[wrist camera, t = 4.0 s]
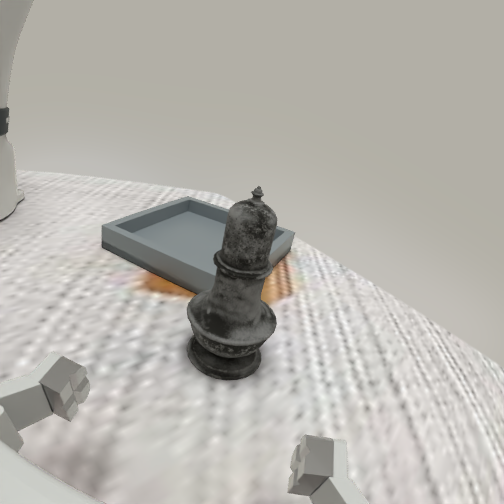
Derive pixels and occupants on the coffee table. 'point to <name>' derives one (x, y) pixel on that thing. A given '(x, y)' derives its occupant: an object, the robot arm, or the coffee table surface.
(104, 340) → the coffee table surface
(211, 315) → the dark stone stupa
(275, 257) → the tray
